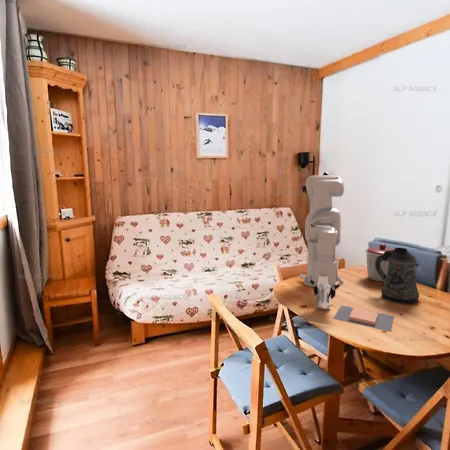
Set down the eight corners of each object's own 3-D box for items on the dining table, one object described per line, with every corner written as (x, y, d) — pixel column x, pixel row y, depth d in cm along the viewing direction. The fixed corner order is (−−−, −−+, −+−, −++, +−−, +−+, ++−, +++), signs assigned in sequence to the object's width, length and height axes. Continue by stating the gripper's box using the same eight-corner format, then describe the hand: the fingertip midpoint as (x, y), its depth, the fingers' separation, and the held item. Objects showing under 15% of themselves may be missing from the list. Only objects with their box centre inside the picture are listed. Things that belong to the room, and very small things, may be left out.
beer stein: (424, 306, 149) (429, 254, 145) (379, 303, 153) (383, 252, 149) (411, 293, 165) (415, 245, 161) (371, 290, 169) (374, 244, 165)
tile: (353, 311, 143) (348, 319, 135) (353, 307, 143) (348, 316, 134) (377, 316, 138) (374, 325, 130) (378, 312, 138) (375, 322, 129)
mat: (332, 319, 136) (332, 318, 136) (341, 306, 150) (341, 305, 150) (390, 332, 125) (390, 331, 125) (394, 317, 138) (394, 316, 138)
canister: (404, 284, 178) (407, 247, 174) (371, 284, 178) (374, 247, 174) (388, 274, 195) (391, 240, 192) (358, 274, 196) (360, 240, 192)
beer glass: (313, 303, 149) (314, 272, 146) (328, 302, 149) (329, 271, 147) (319, 309, 142) (320, 276, 139) (334, 308, 142) (335, 276, 140)
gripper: (304, 257, 143) (302, 295, 146) (344, 262, 134) (342, 303, 137) (309, 253, 150) (307, 290, 153) (348, 258, 141) (346, 297, 144)
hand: (324, 295), depth 145 cm, fingers closed on beer glass, 6 cm apart
